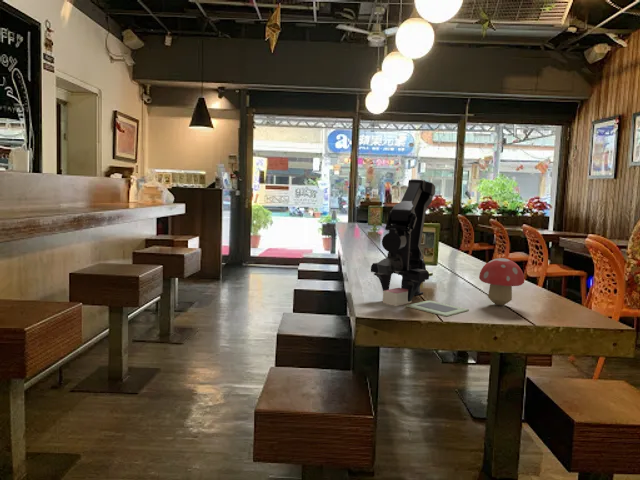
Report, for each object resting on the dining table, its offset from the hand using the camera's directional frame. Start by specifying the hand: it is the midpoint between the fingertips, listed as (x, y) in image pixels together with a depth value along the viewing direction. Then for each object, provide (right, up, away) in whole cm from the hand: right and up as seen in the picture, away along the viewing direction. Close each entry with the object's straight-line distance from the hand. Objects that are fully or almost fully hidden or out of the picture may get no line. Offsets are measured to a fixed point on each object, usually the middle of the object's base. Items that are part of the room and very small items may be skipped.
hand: (397, 298), depth 155 cm
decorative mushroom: (+32, -3, +2) cm, 33 cm away
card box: (0, -2, 0) cm, 2 cm away
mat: (+11, -2, -6) cm, 13 cm away
